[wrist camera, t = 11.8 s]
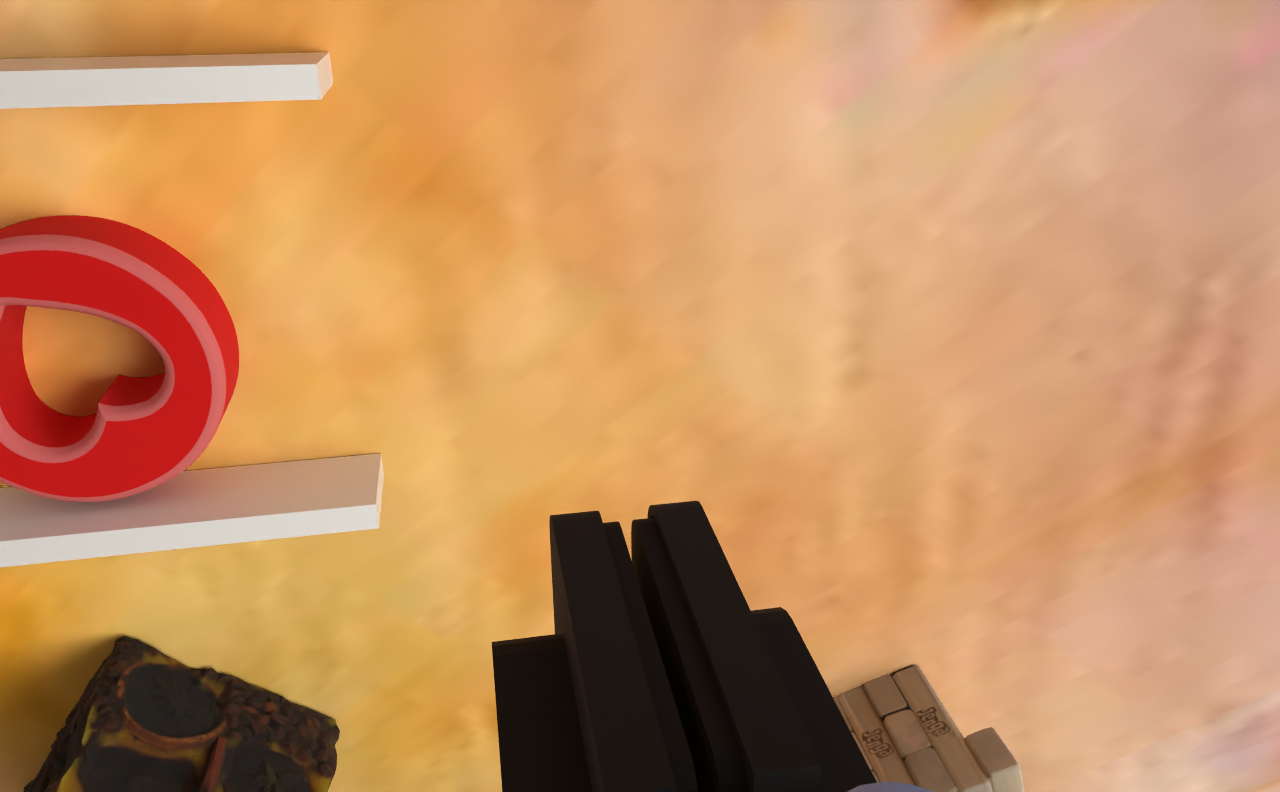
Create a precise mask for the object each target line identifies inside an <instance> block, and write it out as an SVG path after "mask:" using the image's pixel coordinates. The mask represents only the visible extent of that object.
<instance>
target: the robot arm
mask: <svg viewBox="0 0 1280 792" xmlns="http://www.w3.org/2000/svg"><path fill="white" fill-rule="evenodd" d="M631 543H632V561H631V558H630V555H629V551H628V548H627V545H626V542H625V538H624V535H623V532H622V529H621V526H620V523H619V522H609V523H603V522H602V519H601V515H600V513H599V511H590V512H580V513H570V514H560V515H550V544H551V564H552V584H553V603H554V623H555V635H547V636H538V637H530V638H522V639H513V640H505V641H497V642H492V652H493V666H494V680H495V694H496V708H497V722H498V736H499V749H500V763H501V777H502V791H503V792H933V791H930V790H927V789H924V788H921V787H918V786H915V785H912V784H904V783H895V782H878V783H877V781H876V779H875V778H874V776H873V774H872V772H871V770H870V768H869V766H868V764H867V762H866V760H865V758H864V756H863V755H862V753H861V751H860V749H859V747H858V745H857V743H856V741H855V739H854V737H853V735H852V733H851V731H850V730H849V728H848V726H847V724H846V722H845V720H844V718H843V716H842V714H841V712H840V710H839V708H838V707H837V705H836V703H835V701H834V699H833V697H832V695H831V693H830V691H829V689H828V687H827V685H826V684H825V682H824V680H823V678H822V676H821V674H820V672H819V670H818V668H817V666H816V664H815V662H814V660H813V659H812V657H811V655H810V653H809V651H808V649H807V647H806V645H805V643H804V641H803V639H802V637H801V636H800V634H799V632H798V630H797V628H796V626H795V624H794V622H793V620H792V619H791V617H790V616H789V614H788V613H787V611H786V610H784V609H783V608H781V607H779V608H770V609H762V610H754V611H750V609H749V606H748V604H747V602H746V600H745V598H744V596H743V594H742V591H741V589H740V587H739V585H738V583H737V581H736V579H735V576H734V574H733V572H732V570H731V568H730V566H729V563H728V561H727V559H726V557H725V555H724V553H723V551H722V548H721V546H720V544H719V542H718V540H717V538H716V536H715V533H714V531H713V529H712V527H711V525H710V523H709V521H708V518H707V516H706V514H705V512H704V510H703V508H702V506H701V504H700V502H699V501H689V502H679V503H669V504H659V505H650V507H649V510H648V519H638V520H633V521H632V530H631Z"/></svg>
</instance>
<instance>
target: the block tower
mask: <svg viewBox="0 0 1280 792" xmlns="http://www.w3.org/2000/svg"><path fill="white" fill-rule="evenodd" d="M833 699H834V701H835V703H836V705H837V707H838V708H839V710H840V712H841V714H842V716H843V718H844V720H845V722H846V724H847V726H848V728H849V730H850V731H851V733H852V735H853V737H854V739H855V741H856V743H857V745H858V747H859V749H860V751H861V753H862V755H863V756H864V758H865V760H866V762H867V764H868V766H869V768H870V770H871V772H872V774H873V776H874V778H875V779H876V781H877V783H878V782H895V783H904V784H912V785H915V786H918V787H921V788H924V789H927V790H930V791H933V792H1024V787H1023V781H1022V776H1021V771H1020V766H1019V763H1018V762H1017V760H1016V759H1015V757H1014V756H1013V754H1012V753H1011V751H1010V750H1009V749H1008V747H1007V746H1006V744H1005V743H1004V742H1003V740H1002V739H1001V737H1000V736H999V735H998V733H997V732H996V731H995V729H994V728H992V727H991V728H986V729H983V730H980V731H978V732H975V733H973V734H970V735H968V736H967V737H966V738H964V737H963V736H962V734H961V733H960V731H959V730H958V728H957V726H956V725H955V723H954V722H953V720H952V718H951V717H950V715H949V714H948V712H947V710H946V709H945V707H944V706H943V704H942V702H941V701H940V699H939V698H938V696H937V695H936V693H935V691H934V690H933V688H932V686H931V685H930V683H929V681H928V680H927V678H926V677H925V675H924V673H923V672H922V670H921V668H920V667H919V666H913V667H910V668H907V669H905V670H902V671H900V672H897V673H895V674H894V675H893V676H891V675H889V674H886V675H884V676H881V677H879V678H876V679H874V680H871V681H869V682H867V683H865V684H864V686H863V687H858V688H855V689H853V690H850V691H848V692H845V693H842V694H840V695H839V696H838V697H833Z"/></svg>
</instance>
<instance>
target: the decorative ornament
mask: <svg viewBox="0 0 1280 792" xmlns="http://www.w3.org/2000/svg"><path fill="white" fill-rule="evenodd" d="M27 306H34V307H44V308H55V309H63V310H70V311H77V312H82V313H87V314H91V315H95V316H99V317H103V318H106V319H109V320H112V321H114V322H117V323H119V324H122V325H124V326H126V327H128V328H130V329H132V330H134V331H136V332H137V333H139V334H140V335H142V336H143V337H144V338H145V339H147V340H148V341H149V342H150V343H151V344H152V345H153V346H154V347H155V348H156V350H157V351H158V352H159V354H160V355H161V357H162V359H163V361H164V365H165V373H162V374H159V375H156V376H151V377H140V378H136V377H127V376H123V375H118V377H117V378H116V379H115V381H114V382H113V383H112V385H111V386H110V387H109V389H108V390H107V391H106V393H105V394H104V395H103V397H102V398H101V399H100V401H99V402H98V412H97V413H96V414H93V415H90V416H84V417H74V416H68V415H64V414H61V413H59V412H57V411H55V410H53V409H51V408H50V407H48V406H47V405H45V404H44V403H43V402H42V401H41V400H40V399H39V398H38V396H37V395H36V393H35V392H34V390H33V388H32V386H31V384H30V382H29V379H28V376H27V372H26V369H25V364H24V358H23V349H22V334H23V323H24V316H25V311H26V307H27ZM238 370H239V348H238V341H237V335H236V331H235V328H234V324H233V321H232V319H231V316H230V314H229V312H228V310H227V308H226V306H225V304H224V302H223V300H222V298H221V296H220V294H219V293H218V291H217V290H216V288H215V287H214V286H213V284H212V283H211V282H210V281H209V279H208V278H207V277H206V276H205V275H204V274H203V273H202V272H201V270H200V269H198V268H197V267H196V266H195V265H194V264H193V263H192V262H191V261H189V260H188V259H187V258H186V257H184V256H183V255H182V254H180V253H179V252H178V251H176V250H175V249H173V248H172V247H170V246H169V245H167V244H166V243H164V242H163V241H161V240H159V239H157V238H156V237H154V236H152V235H150V234H148V233H146V232H144V231H142V230H139V229H137V228H134V227H132V226H129V225H126V224H123V223H120V222H116V221H113V220H108V219H103V218H97V217H89V216H50V217H42V218H36V219H31V220H27V221H24V222H20V223H17V224H14V225H11V226H8V227H6V228H3V229H1V230H0V482H2V483H4V484H7V485H9V486H11V487H14V488H16V489H19V490H22V491H25V492H28V493H31V494H34V495H38V496H42V497H46V498H51V499H56V500H63V501H73V502H99V501H109V500H115V499H120V498H125V497H129V496H132V495H136V494H139V493H142V492H144V491H147V490H149V489H152V488H154V487H156V486H158V485H161V484H163V483H165V482H167V481H168V480H170V479H172V478H174V477H175V476H177V475H179V474H180V473H181V472H183V471H184V470H185V469H187V468H188V467H189V466H190V465H191V464H192V463H193V462H194V461H195V460H196V459H197V458H198V457H199V456H200V455H201V454H202V452H203V451H204V450H205V449H206V447H207V446H208V444H209V443H210V441H211V440H212V438H213V436H214V434H215V433H216V430H217V428H218V426H219V424H220V422H221V419H222V417H223V415H224V413H225V411H226V408H227V406H228V404H229V402H230V400H231V397H232V395H233V392H234V389H235V386H236V382H237V377H238Z"/></svg>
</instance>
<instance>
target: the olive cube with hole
mask: <svg viewBox="0 0 1280 792" xmlns="http://www.w3.org/2000/svg"><path fill="white" fill-rule="evenodd" d="M339 732H340V730H339V728H338V727H337V725H336V721H335V719H332V718H330V717H327V716H325V715H323V714H321V713H318V712H316V711H314V710H312V709H309V708H306V707H303V706H300V705H297V704H293V703H290V702H288V701H287V700H286V699H285V698H284V697H283V696H279V695H277V694H274V693H272V692H269V691H267V690H264V689H261V688H259V687H256V686H253V685H250V684H248V683H246V682H244V681H242V680H240V679H238V678H236V677H234V676H230V675H225V674H218V673H217V672H216V671H215V670H214V669H204V670H196V669H191V668H189V667H187V666H185V665H183V664H181V663H180V662H178V661H176V660H174V659H172V658H170V657H168V656H166V655H164V654H163V653H161V652H160V651H158V650H156V649H155V648H153V647H151V646H148V645H146V644H144V643H143V642H141V641H139V640H135V639H132V638H129V637H126V636H123V637H121V638H119V639H117V640H116V641H115V647H114V648H113V651H112V653H111V654H110V656H109V657H108V658H107V659H106V660H105V661H104V662H103V663H102V665H101V666H100V668H99V669H98V671H97V672H96V674H95V675H94V677H93V678H92V679H91V680H90V682H89V684H88V685H87V687H86V689H85V691H84V693H83V695H82V697H81V698H80V700H79V702H78V703H77V704H76V706H75V707H74V708H73V710H72V711H71V713H70V715H69V716H68V718H67V719H66V726H65V727H64V728H62V729H61V730H60V731H59V732H58V733H57V739H56V741H55V742H54V743H53V744H52V745H51V747H52V750H51V752H50V754H49V755H48V757H47V759H46V760H45V762H44V764H43V766H42V768H41V770H40V772H39V774H38V775H37V777H36V778H35V779H34V780H33V781H32V782H30V783H29V784H28V785H27V786H26V787H24V792H328V789H329V786H330V784H331V781H332V779H333V776H334V774H335V771H336V765H337V753H336V749H335V743H336V742H337V740H338V738H339Z"/></svg>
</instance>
